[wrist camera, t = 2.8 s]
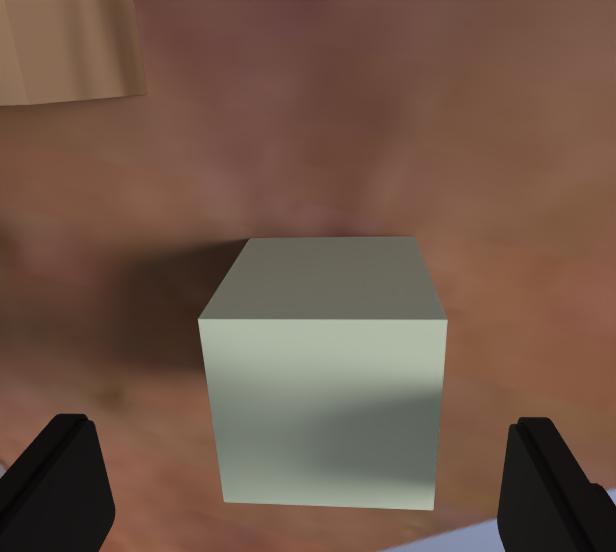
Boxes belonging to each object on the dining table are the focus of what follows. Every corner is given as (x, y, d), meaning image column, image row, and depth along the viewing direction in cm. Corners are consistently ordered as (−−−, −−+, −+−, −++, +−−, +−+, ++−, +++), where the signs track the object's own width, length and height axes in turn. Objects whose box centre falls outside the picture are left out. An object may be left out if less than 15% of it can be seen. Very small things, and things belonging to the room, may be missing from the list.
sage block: (414, 235, 16) (447, 319, 10) (408, 377, 18) (433, 510, 12) (250, 237, 16) (198, 319, 11) (262, 375, 19) (224, 502, 13)
